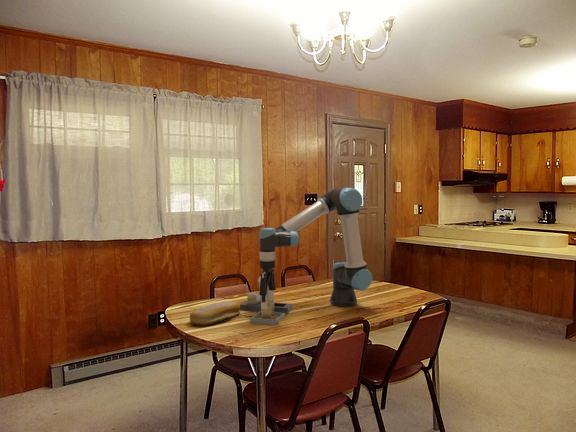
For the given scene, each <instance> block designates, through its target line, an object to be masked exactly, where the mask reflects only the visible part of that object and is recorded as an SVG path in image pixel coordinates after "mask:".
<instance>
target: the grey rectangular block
mask: <svg viewBox="0 0 576 432" xmlns="http://www.w3.org/2000/svg"><path fill="white" fill-rule="evenodd" d="M259 293H260V292H249V293H248V294H247V297H246V299H247V300H246V301H247V304H248V305H258V304H260V295H259Z"/></svg>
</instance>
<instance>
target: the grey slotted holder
mask: <svg viewBox="0 0 576 432" xmlns="http://www.w3.org/2000/svg"><path fill="white" fill-rule="evenodd" d="M239 305H240V312H241V311H243V312H254V313H255V312H257V313H258V312H259V311H261V302H260V304H258V305H248V304H247V300H244V301H243V302H241V303H240V304H239ZM292 311H293V303H288V302H287V303H286V302H275V301H274V312H277V313H285V315H288V314H290V313H291V312H292Z"/></svg>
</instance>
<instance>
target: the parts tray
mask: <svg viewBox="0 0 576 432" xmlns="http://www.w3.org/2000/svg"><path fill="white" fill-rule="evenodd" d="M285 315H286V314H285V313H277V312H274V317H277V318H276V319H274V318H273V319H261V318H260V317H259V316H261V311H259V312H257V313H256V314H254V315H253V316H252V317H250V324H254V325H255V324H256V325H270V326H278V325H279V324H280V321H281V320H282V319H283V318H284V317H285Z"/></svg>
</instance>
